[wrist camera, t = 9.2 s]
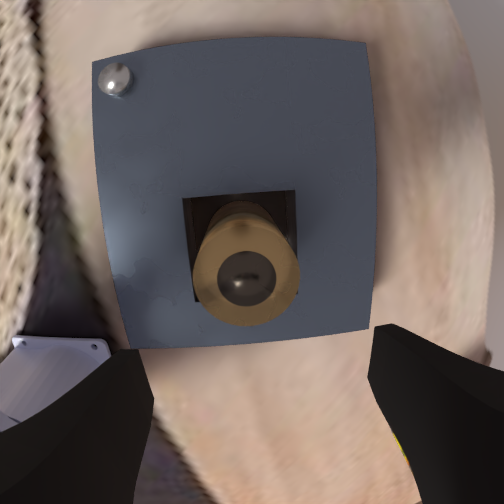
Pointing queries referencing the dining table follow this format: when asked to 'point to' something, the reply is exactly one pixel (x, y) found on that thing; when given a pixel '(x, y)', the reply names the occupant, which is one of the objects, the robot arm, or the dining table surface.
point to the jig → (237, 177)
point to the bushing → (245, 266)
